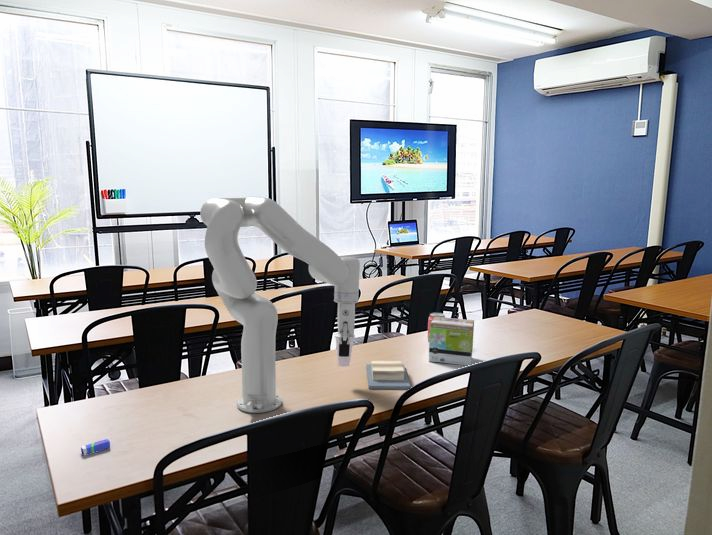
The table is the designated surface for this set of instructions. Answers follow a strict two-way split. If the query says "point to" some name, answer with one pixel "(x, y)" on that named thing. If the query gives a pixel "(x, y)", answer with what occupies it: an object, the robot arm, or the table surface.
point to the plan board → (387, 381)
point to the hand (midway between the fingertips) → (344, 352)
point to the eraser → (95, 446)
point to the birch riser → (387, 370)
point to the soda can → (431, 321)
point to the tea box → (451, 340)
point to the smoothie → (346, 360)
